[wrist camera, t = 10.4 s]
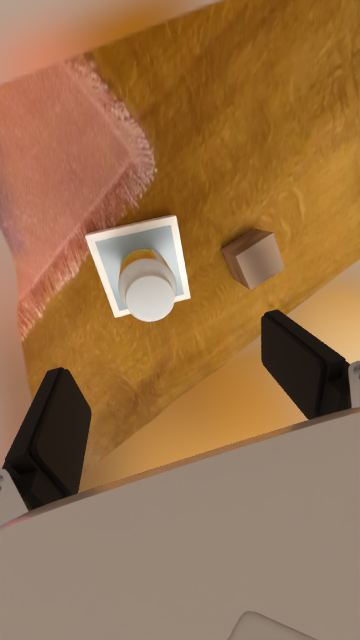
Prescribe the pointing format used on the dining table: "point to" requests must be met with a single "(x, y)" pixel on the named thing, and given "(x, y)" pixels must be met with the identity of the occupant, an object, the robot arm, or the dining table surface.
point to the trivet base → (123, 239)
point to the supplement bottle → (146, 284)
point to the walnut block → (253, 257)
